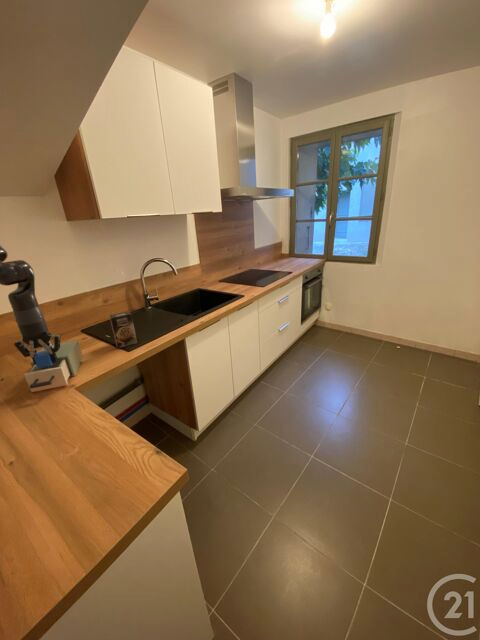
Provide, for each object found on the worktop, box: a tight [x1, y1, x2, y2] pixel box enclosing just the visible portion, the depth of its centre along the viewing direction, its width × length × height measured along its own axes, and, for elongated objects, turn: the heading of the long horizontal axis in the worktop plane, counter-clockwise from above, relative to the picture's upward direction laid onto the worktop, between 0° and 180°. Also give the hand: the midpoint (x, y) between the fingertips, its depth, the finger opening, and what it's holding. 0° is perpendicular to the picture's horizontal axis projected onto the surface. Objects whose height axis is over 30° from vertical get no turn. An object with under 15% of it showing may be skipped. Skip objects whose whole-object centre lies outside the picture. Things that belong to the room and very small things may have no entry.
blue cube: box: [34, 350, 53, 368], centre depth 95 cm, size 4×4×4 cm
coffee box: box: [108, 310, 138, 349], centre depth 124 cm, size 9×6×16 cm
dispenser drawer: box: [23, 358, 71, 393], centre depth 97 cm, size 18×11×7 cm, turn 18°
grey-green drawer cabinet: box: [29, 340, 84, 378], centre depth 106 cm, size 15×13×9 cm
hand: (46, 363), depth 96 cm, fingers closed on blue cube, 4 cm apart
